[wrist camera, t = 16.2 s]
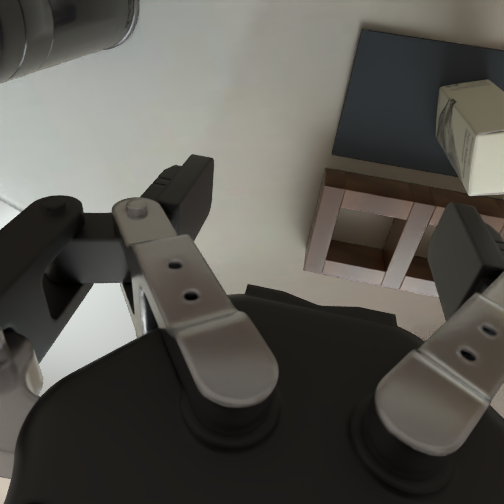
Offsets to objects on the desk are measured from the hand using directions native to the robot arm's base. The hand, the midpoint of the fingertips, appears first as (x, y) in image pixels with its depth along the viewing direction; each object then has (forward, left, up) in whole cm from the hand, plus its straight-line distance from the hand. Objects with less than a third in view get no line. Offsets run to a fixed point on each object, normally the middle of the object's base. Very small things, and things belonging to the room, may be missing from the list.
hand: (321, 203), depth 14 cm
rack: (+12, -17, -30) cm, 37 cm away
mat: (+12, -4, -30) cm, 33 cm away
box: (+13, -3, -30) cm, 33 cm away
